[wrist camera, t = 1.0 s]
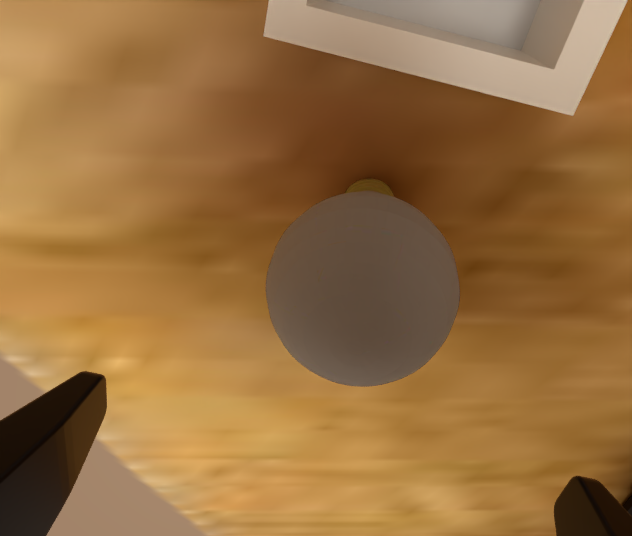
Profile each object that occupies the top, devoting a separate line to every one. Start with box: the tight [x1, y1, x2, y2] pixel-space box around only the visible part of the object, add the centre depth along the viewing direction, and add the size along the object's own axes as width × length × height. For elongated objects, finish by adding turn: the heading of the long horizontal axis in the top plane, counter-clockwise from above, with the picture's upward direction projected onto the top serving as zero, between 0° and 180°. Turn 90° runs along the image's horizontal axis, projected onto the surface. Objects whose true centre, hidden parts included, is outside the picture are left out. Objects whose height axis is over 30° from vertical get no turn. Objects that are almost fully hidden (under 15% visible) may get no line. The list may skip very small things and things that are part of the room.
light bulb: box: [266, 179, 460, 386], centre depth 17 cm, size 6×6×10 cm
